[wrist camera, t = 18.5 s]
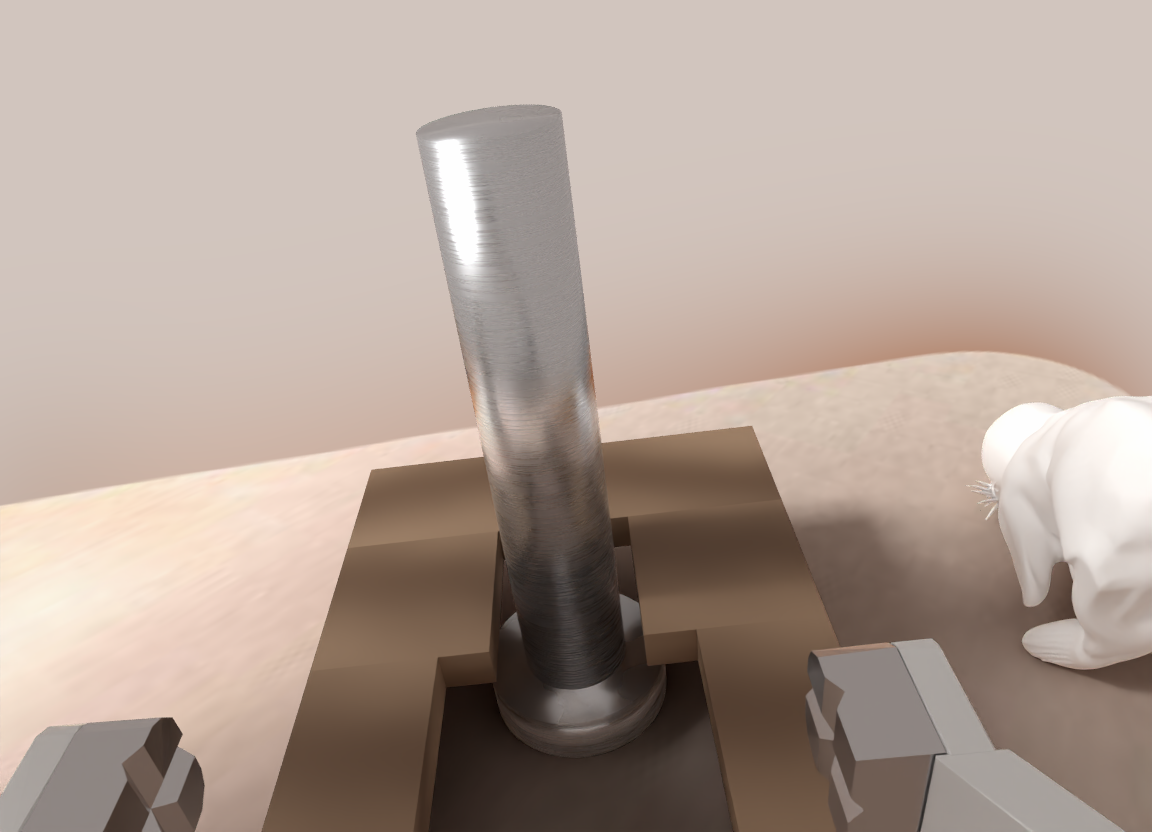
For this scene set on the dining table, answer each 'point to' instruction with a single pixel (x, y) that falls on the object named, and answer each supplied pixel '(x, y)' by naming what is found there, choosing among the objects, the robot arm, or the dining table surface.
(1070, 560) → the white lumpy figurine
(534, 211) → the steel peg
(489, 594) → the keyhole board
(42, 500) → the dining table surface
